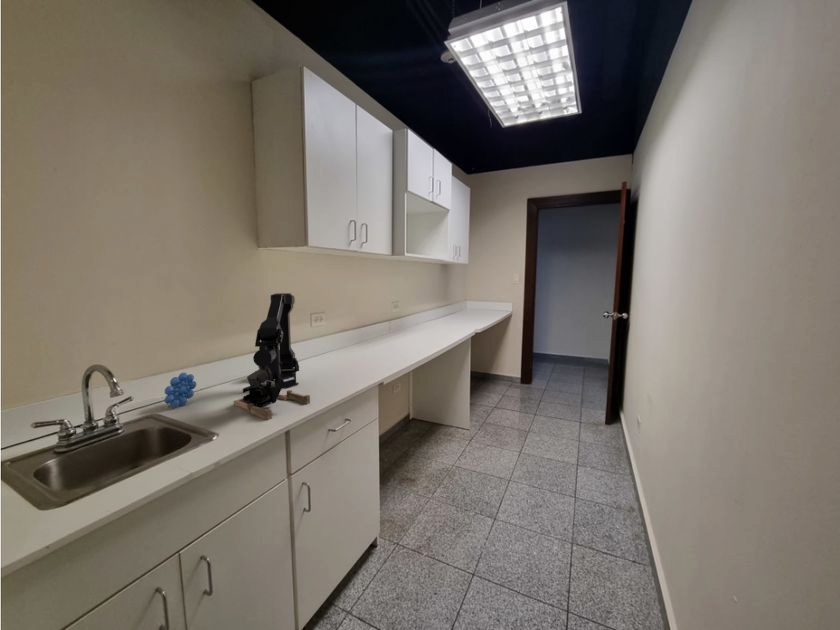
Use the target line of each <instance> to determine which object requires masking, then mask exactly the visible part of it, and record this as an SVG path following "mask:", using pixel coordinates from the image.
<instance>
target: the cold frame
mask: <svg viewBox="0 0 840 630" xmlns="http://www.w3.org/2000/svg"><path fill="white" fill-rule="evenodd" d="M286 395H287V400H292V401H295V402H298V403H302V404H305V405H309V404H310V403H311V395H310V394H305V395H304V394H300V393H296V392H293V390H290V389H289V390H286ZM246 411H247V414H251V415H253V416H257V417H260V418H261V419H262V418H263V419H265V420H267V421H269V420H273V415H272V414H273V413H272V412H273V411H272V409H269V408H267V409H265V408H263V407H262V408H261V407H260V406H255V405H253V404H252V403H250V404H247V409H246Z"/></svg>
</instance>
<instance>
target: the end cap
mask: <svg viewBox="0 0 840 630" xmlns="http://www.w3.org/2000/svg"><path fill="white" fill-rule="evenodd" d="M261 385H262V383H261ZM247 392H249V393H248V394H245V395H244V396H242V398H243V399H244V401H246V402H244V403H247V404H250V403H252V404H253V406H256V407H266V406H267V405H270V404H273V403H272V401H271V399H270V397H269V394H268V392H267V390H266V389H265V388H264V387H262V386H260V385H259V386H253V385H252V386H251V385H250V384H249V385H248V386H245V387H243V388H242V393H243V394H244V393H247Z"/></svg>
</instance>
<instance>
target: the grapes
mask: <svg viewBox="0 0 840 630" xmlns="http://www.w3.org/2000/svg"><path fill="white" fill-rule="evenodd" d="M194 379H195V375H193V374H187V372H181V373H180V374H179V375H178V377H177V376H174V377H172V378H171V379H170V381H169V384H170V385H168V386H166V388H165V389H164V394H165V395H166V396H165V398H164V403H165V404H168V405H169V406H170V408H172V409H174V408H177V407H178V406H180V407H182V406H185V405H186V404H187V403H188V399H191V398H193V397H194V395H195V391H194V389H195V388H196V387H197V382H196V381H195V380H194Z"/></svg>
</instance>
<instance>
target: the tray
mask: <svg viewBox="0 0 840 630" xmlns="http://www.w3.org/2000/svg"><path fill="white" fill-rule="evenodd" d="M277 399H279V400H284V401H286V400H288V399H287V394H284V393H281V392H280V393H279V396H278V398H277ZM245 402H246V401H244V399H243V397H242V398H238V399H236V400H233V405H234V406H235V407H239V408H241V409H244V410H247V403H245Z"/></svg>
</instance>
